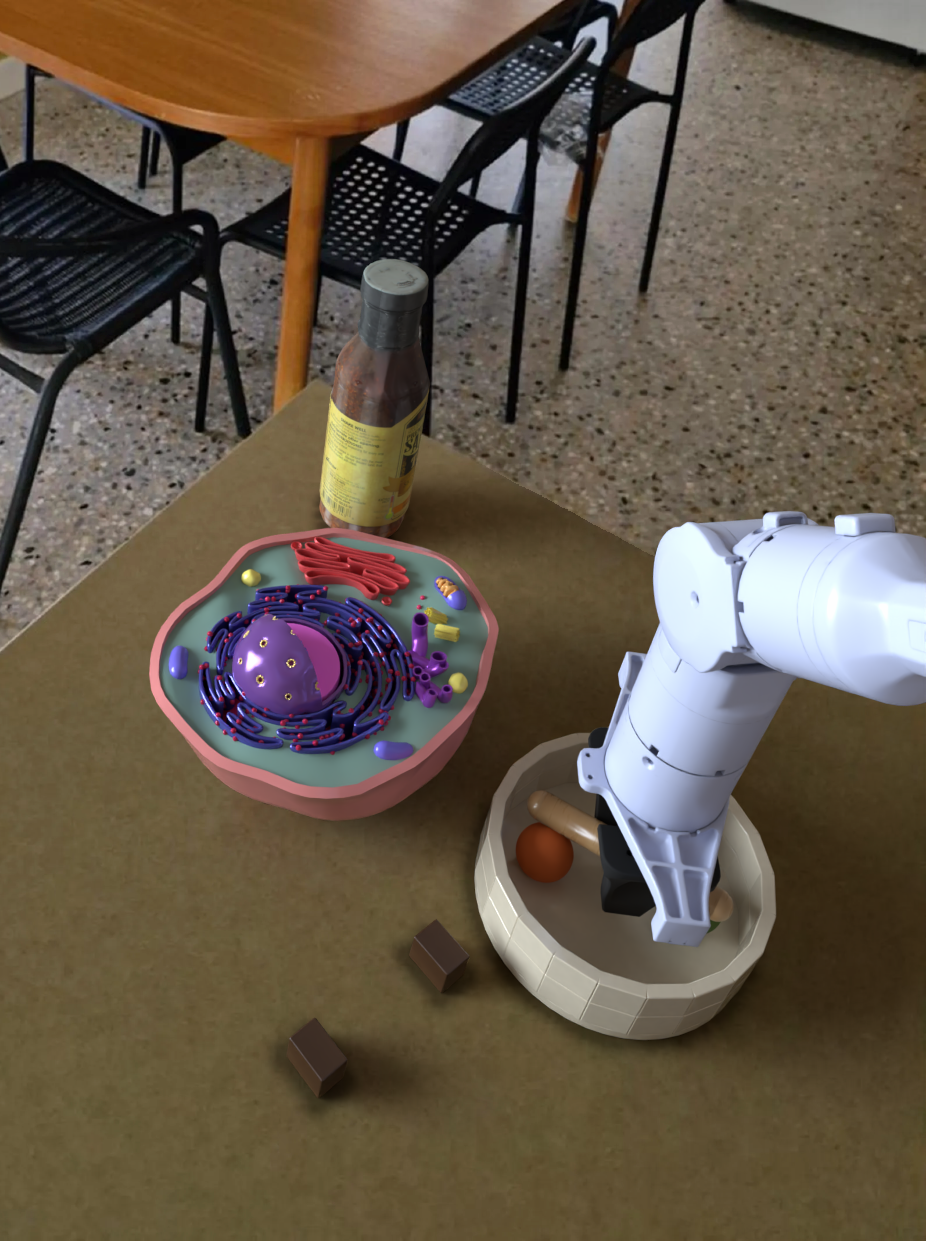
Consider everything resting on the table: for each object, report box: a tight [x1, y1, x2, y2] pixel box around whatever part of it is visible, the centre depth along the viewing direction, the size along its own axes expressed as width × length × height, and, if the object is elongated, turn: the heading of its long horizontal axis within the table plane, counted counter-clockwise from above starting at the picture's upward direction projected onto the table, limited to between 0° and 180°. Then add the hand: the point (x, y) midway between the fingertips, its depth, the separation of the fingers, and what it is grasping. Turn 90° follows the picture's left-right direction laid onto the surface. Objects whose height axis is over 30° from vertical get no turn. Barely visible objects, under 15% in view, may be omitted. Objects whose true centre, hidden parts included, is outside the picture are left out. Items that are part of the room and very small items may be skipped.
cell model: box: [148, 527, 500, 822], centre depth 70 cm, size 17×20×11 cm
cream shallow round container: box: [473, 732, 777, 1041], centre depth 65 cm, size 14×14×4 cm
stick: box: [527, 790, 733, 922], centre depth 64 cm, size 11×2×2 cm, turn 56°
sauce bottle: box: [319, 258, 431, 539], centre depth 81 cm, size 7×6×20 cm
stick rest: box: [285, 918, 470, 1099], centre depth 60 cm, size 10×2×2 cm, turn 128°
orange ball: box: [516, 822, 574, 883], centre depth 66 cm, size 3×3×3 cm
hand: (617, 874), depth 65 cm, fingers closed on stick, 3 cm apart
